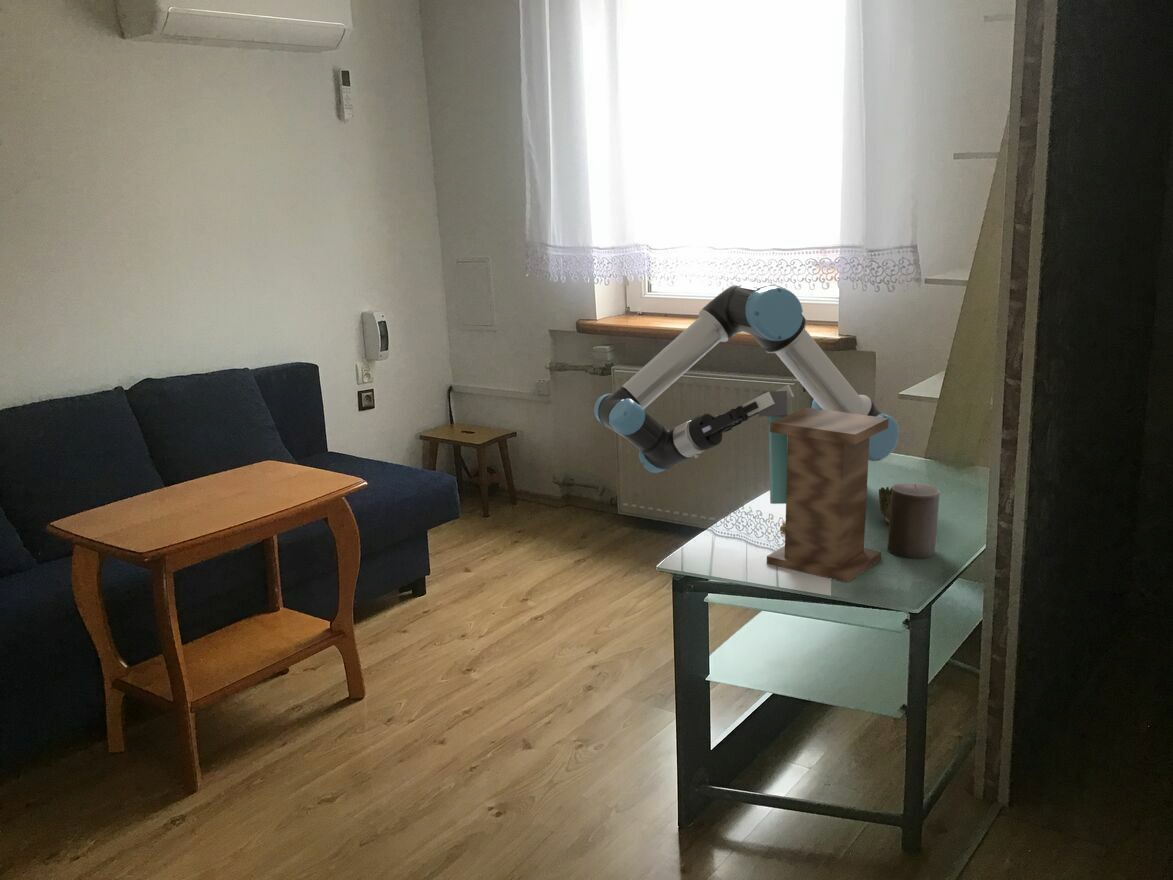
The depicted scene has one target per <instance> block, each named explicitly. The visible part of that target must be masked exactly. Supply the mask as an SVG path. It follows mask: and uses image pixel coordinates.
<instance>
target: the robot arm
mask: <svg viewBox="0 0 1173 880" xmlns="http://www.w3.org/2000/svg"><path fill="white" fill-rule="evenodd" d="M803 311H804V310H803V306H802V304H801V302H800V300H799V298H798V297H797V296H796V295H795V293H793V291H792V292H791V290H788V289H786V288H785V287H782V286H779V285H775V284H766V283H760V282H756V281H755V282H754V281H748V280H747V281H741V282H737V283H734V284H733V285H731V286H730V287H728V288H726V289H724V290H723V291H721V292H720V293H719V294H718V295H716V296H715V297H714V298H713V299H712V300H710V301H709V302H708V303H707V304H705V306H703V308H701V310H699V312H698V318H696V320H694V321H693V322H692V323H691V324H690V325H689V326H687V328H685V329H684V330H683V331H682V332H681V333H680V334H679V335H678V336H676V337H675V339H673V340H672V341H670V343H668V345H667V346H665V347H664V348H663V349H662V350H661V351H660V352H659V353H658V354H656V355H655V356H654V357H653V358H652V359H651V360H649V362H648V363H646V364H645V365H644V366H643V367H642V368H641V369H639V370H638V371H637V372H636V373H635V374H634V375H633V376H632V377H630V379H628V381H626V382H625V383H623V385H622V386H621V387H620V388H618V389H617V390H616V391H614V393H606V394H603V395H602V396H599V398H598V399H597V400H596V401H595V404H594V407H593V412H594V416H595V418H596V420H597V421H598V422H599V423H600V424H601V425H602V426H604V428H606V429H610V430H612V431H613V432H615V433H616V434H618V435H619V436H621V437H622V438H624V439H626V440H627V441H628V442H630V443H631V444H632V445H634V446H635V447H636V448H638V457H639V460H640V462H641V463H642V464H643V467H644V469H646V470H647V471H648V472H650V473H654V474H657V473H660V472H663V471H666V470H670V469H672V468H673V467H674V466H676V465H679V464H680V463H682V462H684V461H686V460H688V459H691V458H692V457H694V459H698V458H699V457H700V455H699V454H701V453H703V452H705V451H708V450H710V449H712V448H714V447H716V446H719V445H720V444H721V443H722V440H723V433H724V434H725V433H727V432H729V431H731V430H732V429H733V428H735V427H737V426H739V425H742V424H743V422H746V421H748V420H749V419H750V418H753V417H755V416H756V415H757V416H758V415H759V411H761V410H763V409H765V408H767V407H769V406H771V405H773V404H775V403H774V401H773V399H772V397H771V394H770V392H767V393H765V394H763V395H761V396H759V397H758V396H757V397H755V398H753V399H750V400H749V401H746V402H745V403H743V404H742V405H738V406H737V407H736V408H731V409H730V410H728V411H726V412H723V413H720V414H717V415H715V416H713V415H712V414H710V413H708V412H707V413H706V412H705V413H701V414H700V415H698V416H696V417H694V418H692V419H691V420H687V421H686V422H683V423H682V424H680V425H677V426H676V427H674V428H672V429H667V427H665V426H664V425H663V424H662V423H660V422H659V421H658V420H657V419H656V418H654V417H653V416H652V415H651V414H650V413H649V412H648V411H647V410H646V408H647V407H649V405H651V404H652V403H653V402H654V401H655V400H656V399H658V397H659V396H660V395H661V394H663V393H664V392H666V390H668V389H669V387H671V386H672V385H673V384H674V383H675V382H676V381H677V380H678V379H680V378H681V377H682V376H683V375H684V374H686V373H687V372H688V371H689V369H691V368H692V367H693V366H694V365H695V364H697V362H699V361H700V360H701V359H703V358H704V356H705V355H707V354H708V353H709V352H710V351H711V350H713V348H714V347H716V346H717V345H718V344H719V343H720V342H723V343H726V342H728V341H729V340H730V339H731V338H732V337H734V336H735V335H737V334H739V333H747V334H750V335H751V337H753V339H754V340H755V341H756V342H757V344H759V346H760V347H761V348H762V349H763V351H764V352H766V353H768V354H775V355H777V356H778V358H779V359H780V360H781V362H782V363H783V364H784V365H785V366H786V367H787V369H788V370H789V371H790V372H791V373H792V375H793V376H794V377H795V378H796V379H797V380H798V382H799V383H800V384H801V385H802V386H803V388H804V389H805V390H806V392H807V393H808V394H809V396H811V398H812V399H813V400H812V403H811V408H814V409H821V410H829V411H837V412H844V413H852V414H859V415H867V416H875V417H882V418H889V423H888V428H887V429H885V430H883V431H881V432H879V433H877V434H875V435H873V436H871V437H870V438H869V458H868V462H878V461H882V460H884V459H886V458H888V456H890V455H891V454H892V452H894V450H895V449H896V447H897V444H898V442H899V436H900V427H899V425H898V421H896V419H895V418H893V417H892V416H890V414H888V413H883V412H882V411H881V410H880V409H879V408H878V407H877V406H876V404H875V402H873V401H872V400H871V398H870V397H869V396H868V395H865V394H858V393H857V391H856V390H855V389H854V388H853V386H852V385H851V384H850V383H849V381H848V380H847V379H846V378H845V377H844V376H843V375H842V373H841V372H840V370H839V369H838V368H837V367H836V365H835V364H834V363H833V362H832V360H831V359H830V358H829V357H828V356H827V354H826V353H825V352H824V350H823V349H822V348H821V347H820V345H819V344H818V343H817V342H816V341H815V339H814V338H813V337H812V336H811V335H810V333H809V332H808V331H807V330H806V327H807V319H806V318H805V316H804V315H803ZM775 391H787V401H788V400H790V399H791V398H794V397H795V395H794V393H793V390H792V389H791V387H790V384H787V385H785V386H783V387H781V388H779V389H777V390H775Z"/></svg>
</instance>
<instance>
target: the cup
mask: <svg viewBox="0 0 1173 880" xmlns="http://www.w3.org/2000/svg"><path fill="white" fill-rule="evenodd" d="M892 487H893V486H891V488H889V486H886V487H885V488H884V487H880V488H878V496H879V497H878V502H879V509H880V510H879V511H880V513H881V515H882V516H883V517H885V523H886V524H887V525H888V526H889V519H890V506H891V494H892Z"/></svg>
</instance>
